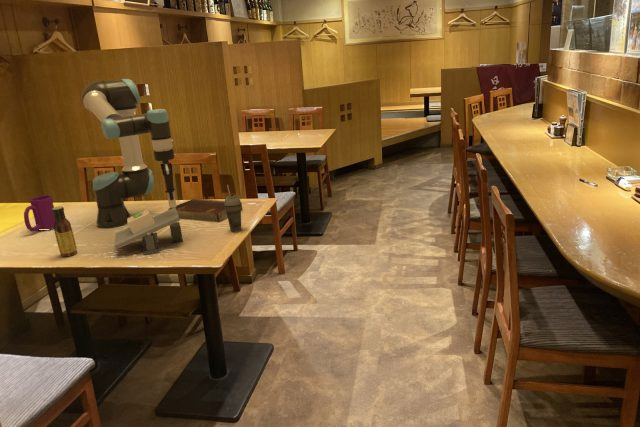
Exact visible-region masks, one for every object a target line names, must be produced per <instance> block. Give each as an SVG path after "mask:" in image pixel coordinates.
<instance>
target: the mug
mask: <svg viewBox="0 0 640 427" xmlns="http://www.w3.org/2000/svg"><path fill="white" fill-rule="evenodd" d="M52 198H53V197H52V195H39V196H35V197H32V198H30V199H29V203H30V205H29V206H27V207H25V209H24V212H23V219H24V220H23V221H24V224H25V225H24V226H25V227H26V229H27V230H29V231H30V232H37V231H38V230H39V229H51V228H54V223H55V217H54V213H53V211H52V208H55V206H54V202H53V199H52ZM30 210H31V211H32V214H33V218H34V222H35V226H33V227H32V225H31V222H30V216H29V213H30Z"/></svg>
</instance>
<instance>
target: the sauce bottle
mask: <svg viewBox="0 0 640 427" xmlns="http://www.w3.org/2000/svg"><path fill="white" fill-rule="evenodd" d="M52 211H53V213H54V217H55V223H54V229H53V230H54V234H55V240H56V243H57V246H58V250H59V253H60V256H61V257H62V256H68V257H72V256H71V255H73V256H75V255H76V254H78V250H77V248H78V247H77V245H76V239H75V236H74V232H73V229H72V225H71V222H70V221H69V220H68V219H67V218H66V213H65V208H64V206H59V205H58V206H54V208H52Z"/></svg>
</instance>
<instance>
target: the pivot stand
mask: <svg viewBox="0 0 640 427" xmlns="http://www.w3.org/2000/svg"><path fill="white" fill-rule="evenodd" d="M169 231H170V235H171V241H172V244H177V243H183V242H184V240H183V234H182V229H181V224H180V222H179V221H178V222H175V223H173V224H171V225H169ZM158 237H159V236H158V233H157V231H156V232H153V233H151V235H147V236H145V237H142V238H141V239H142V251H143V256H147V255H153V254H159V253H161V250H160V245H159V244H160V243H159V239H158Z"/></svg>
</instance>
